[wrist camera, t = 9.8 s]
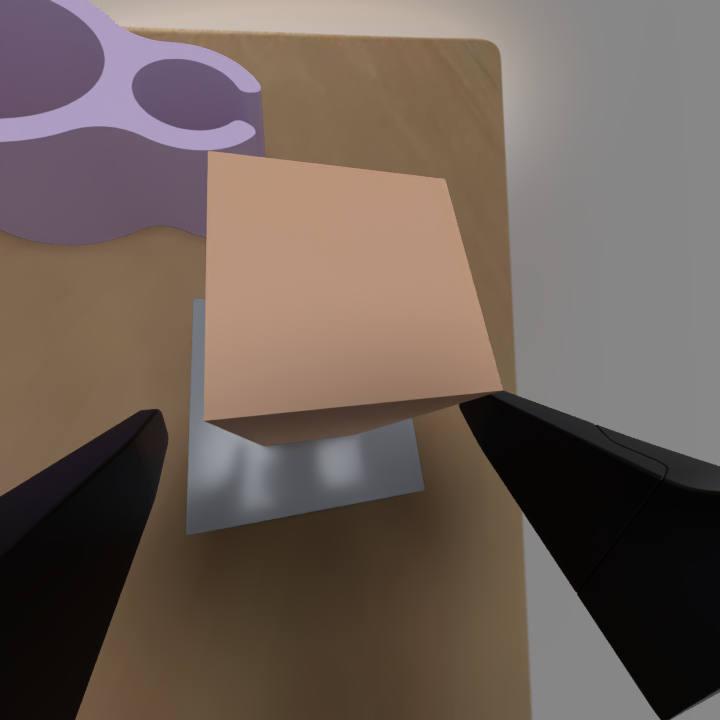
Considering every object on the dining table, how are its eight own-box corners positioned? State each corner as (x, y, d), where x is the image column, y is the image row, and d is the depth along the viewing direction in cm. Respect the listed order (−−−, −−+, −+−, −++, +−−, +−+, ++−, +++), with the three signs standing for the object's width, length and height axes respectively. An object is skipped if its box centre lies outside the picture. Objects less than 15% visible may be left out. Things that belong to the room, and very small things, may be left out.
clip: (271, 147, 25) (266, 43, 19) (259, 269, 22) (248, 191, 15) (-22, 85, 21) (-158, -79, 14) (-102, 227, 17) (-335, 91, 11)
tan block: (356, 434, 16) (503, 390, 5) (263, 446, 15) (203, 421, 4) (345, 350, 18) (444, 178, 7) (259, 355, 17) (207, 150, 5)
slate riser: (404, 485, 19) (425, 490, 16) (202, 521, 16) (185, 535, 13) (378, 318, 23) (391, 299, 20) (206, 321, 19) (193, 299, 17)
